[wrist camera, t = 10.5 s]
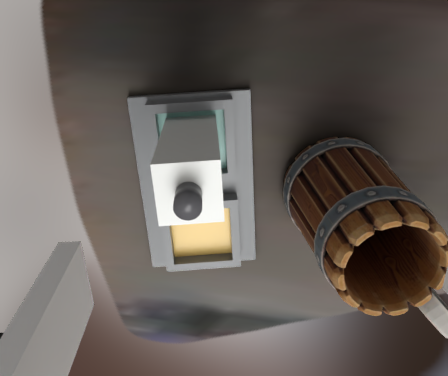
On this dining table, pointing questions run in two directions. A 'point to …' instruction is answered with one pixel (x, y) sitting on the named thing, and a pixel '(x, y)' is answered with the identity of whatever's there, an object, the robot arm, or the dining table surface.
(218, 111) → the panel
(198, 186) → the plug
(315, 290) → the dining table surface
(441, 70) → the dining table surface
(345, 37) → the dining table surface
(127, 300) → the dining table surface
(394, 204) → the mug
